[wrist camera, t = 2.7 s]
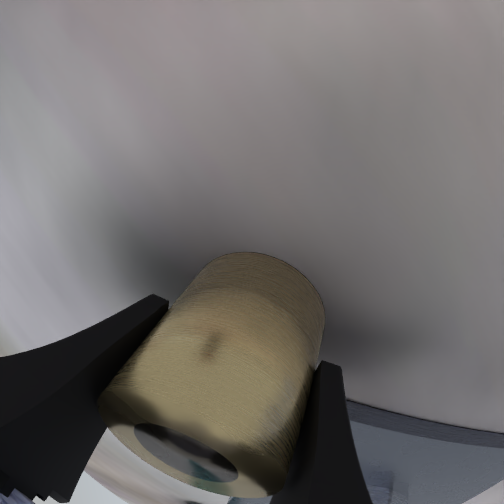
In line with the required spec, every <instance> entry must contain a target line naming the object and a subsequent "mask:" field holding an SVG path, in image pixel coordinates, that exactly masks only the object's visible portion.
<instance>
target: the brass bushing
mask: <svg viewBox="0 0 504 504" xmlns="http://www.w3.org/2000/svg"><path fill="white" fill-rule="evenodd" d="M324 326H325V312H324V307H323V304H322V301H321V299H320V296H319V294H318V293H317V291H316V290H315V288H314V286H313V285H312V284H311V283H310V282H309V281H308V279H307V278H306V277H304V276H303V275H302V274H301V273H300V272H299V271H297V270H296V269H295V268H293V267H292V266H290V265H288V264H287V263H285V262H283V261H281V260H278V259H276V258H274V257H270V256H267V255H264V254H258V253H250V252H239V253H231V254H227V255H224V256H221V257H218V258H216V259H215V260H213V261H211V262H210V263H209V264H207V265H206V266H205V267H204V268H203V269H202V270H201V271H200V273H199V274H198V275H197V276H196V277H195V279H194V280H193V281H192V282H191V283H190V285H189V286H188V287H187V288H186V289H185V291H184V292H183V293H182V294H181V295H180V297H179V298H178V299H177V300H176V302H175V303H174V304H173V305H172V306H171V308H170V309H169V310H168V311H167V312H166V314H165V315H164V316H163V317H162V319H161V320H160V321H159V322H158V323H157V325H156V326H155V327H154V328H153V330H152V331H151V332H150V333H149V335H148V336H147V337H146V338H145V339H144V341H143V342H142V343H141V344H140V346H139V347H138V348H137V349H136V351H135V352H134V353H133V354H132V356H131V357H130V358H129V359H128V361H127V362H126V363H125V364H124V366H123V367H122V368H121V369H120V371H119V372H118V373H117V374H116V376H115V377H114V378H113V380H112V381H111V382H110V383H109V385H108V386H107V387H106V388H105V390H104V391H103V392H102V393H101V395H100V396H99V398H98V401H97V406H98V411H99V413H100V415H101V418H102V419H103V421H104V423H105V424H106V425H107V427H108V428H109V430H110V431H111V432H112V433H113V434H114V435H115V436H116V437H117V438H118V439H119V440H120V442H122V443H123V444H124V445H125V446H126V447H127V448H128V449H129V450H131V451H132V452H133V453H134V454H136V455H137V456H138V457H140V458H141V459H142V460H144V461H145V462H147V463H148V464H150V465H151V466H153V467H155V468H156V469H158V470H160V471H162V472H163V473H165V474H167V475H169V476H171V477H173V478H175V479H177V480H179V481H182V482H184V483H186V484H189V485H191V486H194V487H197V488H200V489H203V490H206V491H209V492H213V493H217V494H221V495H226V496H232V497H239V498H263V497H268V496H272V495H274V494H277V493H278V492H280V491H281V490H282V489H283V487H284V484H285V481H286V478H287V474H288V471H289V468H290V464H291V461H292V458H293V454H294V451H295V447H296V444H297V440H298V436H299V433H300V429H301V425H302V422H303V418H304V414H305V410H306V406H307V402H308V398H309V394H310V390H311V386H312V381H313V377H314V373H315V368H316V364H317V359H318V355H319V350H320V345H321V341H322V336H323V331H324Z"/></svg>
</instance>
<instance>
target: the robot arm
mask: <svg viewBox="0 0 504 504" xmlns="http://www.w3.org/2000/svg"><path fill="white" fill-rule="evenodd" d="M168 307H169V301H168V300H165V299H163V298H161V297H159V296H156V295H154V294H152V295H149V296H148V297H146V298H144V299H142V300H140V301H138V302H137V303H135V304H133V305H131V306H129V307H128V308H126V309H124V310H122V311H120V312H118V313H117V314H115V315H113V316H111V317H109V318H107V319H105V320H103V321H101V322H99V323H97V324H95V325H93V326H91V327H89V328H87V329H85V330H82V331H80V332H78V333H76V334H74V335H72V336H69V337H67V338H64V339H62V340H59V341H57V342H54V343H51V344H48V345H46V346H43V347H40V348H36V349H33V350H29V351H26V352H22V353H18V354H14V355H10V356H5V357H0V504H35V503H34V502H33V501H32V500H33V499H34V498H35V496H38V497H39V498H40V499H42V500H43V501H45V500H46V499H47V497H48V496H50V497H52V498H53V499H55V500H56V501H57V502H59V503H67V502H69V501H70V499H71V496H72V494H73V492H74V489H75V487H76V485H77V483H78V481H79V478H80V476H81V474H82V472H83V470H84V468H85V466H86V464H87V462H88V460H89V458H90V457H91V455H92V453H93V451H94V449H95V448H96V446H97V444H98V442H99V440H100V439H101V437H102V435H103V434H104V432H105V430H106V428H107V425H106V424H105V423H104V421H103V419H102V418H101V415H100V413H99V411H98V406H97V401H98V398H99V396H100V395H101V393H102V392H103V391H104V390H105V388H106V387H107V386H108V385H109V383H110V382H111V381H112V380H113V378H114V377H115V376H116V374H117V373H118V372H119V371H120V369H121V368H122V367H123V366H124V364H125V363H126V362H127V361H128V359H129V358H130V357H131V356H132V354H133V353H134V352H135V351H136V349H137V348H138V347H139V346H140V344H141V343H142V342H143V341H144V339H145V338H146V337H147V336H148V335H149V333H150V332H151V331H152V330H153V328H154V327H155V326H156V325H157V323H158V322H159V321H160V320H161V319H162V317H163V316H164V315H165V314H166V312H167V311H168ZM269 504H373V502H372V500H371V497H370V494H369V491H368V489H367V486H366V483H365V480H364V477H363V473H362V470H361V467H360V463H359V460H358V456H357V452H356V448H355V444H354V439H353V435H352V430H351V425H350V420H349V415H348V410H347V404H346V398H345V391H344V384H343V376H342V369H341V367H340V366H338V365H335V364H332V363H329V362H326V361H323V360H322V361H321V363H320V364H319V366H318V368H317V369H316V371H315V373H314V377H313V381H312V386H311V390H310V394H309V398H308V402H307V406H306V410H305V414H304V418H303V422H302V425H301V429H300V433H299V436H298V440H297V444H296V447H295V451H294V454H293V458H292V461H291V464H290V468H289V471H288V474H287V478H286V481H285V484H284V487H283V489H282V490H281V491H280V492H278V493H277V494H274V495H273V496H272V498H271V501H270V503H269Z"/></svg>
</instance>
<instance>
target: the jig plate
mask: <svg viewBox="0 0 504 504" xmlns="http://www.w3.org/2000/svg"><path fill="white" fill-rule="evenodd" d="M346 404H347V410H348V415H349V420H350V425H351V430H352V435H353V439H354V444H355V448H356V452H357V456H358V460H359V463H360V467H361V470H362V473H363V477H364V480H365V483H366V486H367V489H368V491H369V494H370V497H371V500H372V502H373V504H462V503H464V502H465V501H467V500H469V499H471V498H473V497H475V496H476V495H478V494H480V493H482V492H483V491H485V490H487V489H488V488H490V487H492V486H493V485H495V484H497V483H498V482H500V481H501V480H503V479H504V434H499V433H492V432H485V431H478V430H472V429H466V428H461V427H455V426H450V425H445V424H440V423H435V422H430V421H425V420H421V419H416V418H412V417H408V416H403V415H399V414H395V413H391V412H387V411H383V410H379V409H376V408H372V407H368V406H365V405H361V404H358V403H354V402H351V401H347V400H346ZM272 496H273V495H272ZM272 496H268V497H263V498H239V497H232V496H230V498H229V500H228V503H227V504H269V503H270V501H271V498H272Z"/></svg>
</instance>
